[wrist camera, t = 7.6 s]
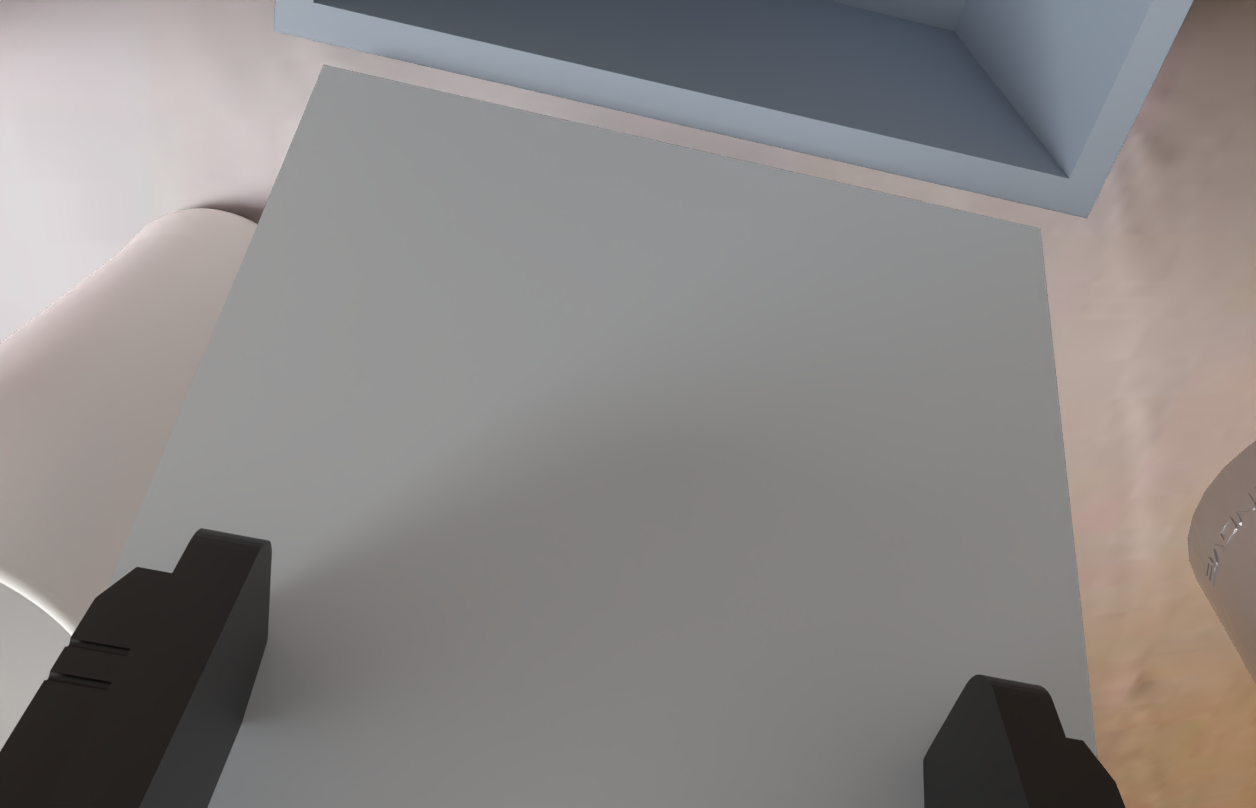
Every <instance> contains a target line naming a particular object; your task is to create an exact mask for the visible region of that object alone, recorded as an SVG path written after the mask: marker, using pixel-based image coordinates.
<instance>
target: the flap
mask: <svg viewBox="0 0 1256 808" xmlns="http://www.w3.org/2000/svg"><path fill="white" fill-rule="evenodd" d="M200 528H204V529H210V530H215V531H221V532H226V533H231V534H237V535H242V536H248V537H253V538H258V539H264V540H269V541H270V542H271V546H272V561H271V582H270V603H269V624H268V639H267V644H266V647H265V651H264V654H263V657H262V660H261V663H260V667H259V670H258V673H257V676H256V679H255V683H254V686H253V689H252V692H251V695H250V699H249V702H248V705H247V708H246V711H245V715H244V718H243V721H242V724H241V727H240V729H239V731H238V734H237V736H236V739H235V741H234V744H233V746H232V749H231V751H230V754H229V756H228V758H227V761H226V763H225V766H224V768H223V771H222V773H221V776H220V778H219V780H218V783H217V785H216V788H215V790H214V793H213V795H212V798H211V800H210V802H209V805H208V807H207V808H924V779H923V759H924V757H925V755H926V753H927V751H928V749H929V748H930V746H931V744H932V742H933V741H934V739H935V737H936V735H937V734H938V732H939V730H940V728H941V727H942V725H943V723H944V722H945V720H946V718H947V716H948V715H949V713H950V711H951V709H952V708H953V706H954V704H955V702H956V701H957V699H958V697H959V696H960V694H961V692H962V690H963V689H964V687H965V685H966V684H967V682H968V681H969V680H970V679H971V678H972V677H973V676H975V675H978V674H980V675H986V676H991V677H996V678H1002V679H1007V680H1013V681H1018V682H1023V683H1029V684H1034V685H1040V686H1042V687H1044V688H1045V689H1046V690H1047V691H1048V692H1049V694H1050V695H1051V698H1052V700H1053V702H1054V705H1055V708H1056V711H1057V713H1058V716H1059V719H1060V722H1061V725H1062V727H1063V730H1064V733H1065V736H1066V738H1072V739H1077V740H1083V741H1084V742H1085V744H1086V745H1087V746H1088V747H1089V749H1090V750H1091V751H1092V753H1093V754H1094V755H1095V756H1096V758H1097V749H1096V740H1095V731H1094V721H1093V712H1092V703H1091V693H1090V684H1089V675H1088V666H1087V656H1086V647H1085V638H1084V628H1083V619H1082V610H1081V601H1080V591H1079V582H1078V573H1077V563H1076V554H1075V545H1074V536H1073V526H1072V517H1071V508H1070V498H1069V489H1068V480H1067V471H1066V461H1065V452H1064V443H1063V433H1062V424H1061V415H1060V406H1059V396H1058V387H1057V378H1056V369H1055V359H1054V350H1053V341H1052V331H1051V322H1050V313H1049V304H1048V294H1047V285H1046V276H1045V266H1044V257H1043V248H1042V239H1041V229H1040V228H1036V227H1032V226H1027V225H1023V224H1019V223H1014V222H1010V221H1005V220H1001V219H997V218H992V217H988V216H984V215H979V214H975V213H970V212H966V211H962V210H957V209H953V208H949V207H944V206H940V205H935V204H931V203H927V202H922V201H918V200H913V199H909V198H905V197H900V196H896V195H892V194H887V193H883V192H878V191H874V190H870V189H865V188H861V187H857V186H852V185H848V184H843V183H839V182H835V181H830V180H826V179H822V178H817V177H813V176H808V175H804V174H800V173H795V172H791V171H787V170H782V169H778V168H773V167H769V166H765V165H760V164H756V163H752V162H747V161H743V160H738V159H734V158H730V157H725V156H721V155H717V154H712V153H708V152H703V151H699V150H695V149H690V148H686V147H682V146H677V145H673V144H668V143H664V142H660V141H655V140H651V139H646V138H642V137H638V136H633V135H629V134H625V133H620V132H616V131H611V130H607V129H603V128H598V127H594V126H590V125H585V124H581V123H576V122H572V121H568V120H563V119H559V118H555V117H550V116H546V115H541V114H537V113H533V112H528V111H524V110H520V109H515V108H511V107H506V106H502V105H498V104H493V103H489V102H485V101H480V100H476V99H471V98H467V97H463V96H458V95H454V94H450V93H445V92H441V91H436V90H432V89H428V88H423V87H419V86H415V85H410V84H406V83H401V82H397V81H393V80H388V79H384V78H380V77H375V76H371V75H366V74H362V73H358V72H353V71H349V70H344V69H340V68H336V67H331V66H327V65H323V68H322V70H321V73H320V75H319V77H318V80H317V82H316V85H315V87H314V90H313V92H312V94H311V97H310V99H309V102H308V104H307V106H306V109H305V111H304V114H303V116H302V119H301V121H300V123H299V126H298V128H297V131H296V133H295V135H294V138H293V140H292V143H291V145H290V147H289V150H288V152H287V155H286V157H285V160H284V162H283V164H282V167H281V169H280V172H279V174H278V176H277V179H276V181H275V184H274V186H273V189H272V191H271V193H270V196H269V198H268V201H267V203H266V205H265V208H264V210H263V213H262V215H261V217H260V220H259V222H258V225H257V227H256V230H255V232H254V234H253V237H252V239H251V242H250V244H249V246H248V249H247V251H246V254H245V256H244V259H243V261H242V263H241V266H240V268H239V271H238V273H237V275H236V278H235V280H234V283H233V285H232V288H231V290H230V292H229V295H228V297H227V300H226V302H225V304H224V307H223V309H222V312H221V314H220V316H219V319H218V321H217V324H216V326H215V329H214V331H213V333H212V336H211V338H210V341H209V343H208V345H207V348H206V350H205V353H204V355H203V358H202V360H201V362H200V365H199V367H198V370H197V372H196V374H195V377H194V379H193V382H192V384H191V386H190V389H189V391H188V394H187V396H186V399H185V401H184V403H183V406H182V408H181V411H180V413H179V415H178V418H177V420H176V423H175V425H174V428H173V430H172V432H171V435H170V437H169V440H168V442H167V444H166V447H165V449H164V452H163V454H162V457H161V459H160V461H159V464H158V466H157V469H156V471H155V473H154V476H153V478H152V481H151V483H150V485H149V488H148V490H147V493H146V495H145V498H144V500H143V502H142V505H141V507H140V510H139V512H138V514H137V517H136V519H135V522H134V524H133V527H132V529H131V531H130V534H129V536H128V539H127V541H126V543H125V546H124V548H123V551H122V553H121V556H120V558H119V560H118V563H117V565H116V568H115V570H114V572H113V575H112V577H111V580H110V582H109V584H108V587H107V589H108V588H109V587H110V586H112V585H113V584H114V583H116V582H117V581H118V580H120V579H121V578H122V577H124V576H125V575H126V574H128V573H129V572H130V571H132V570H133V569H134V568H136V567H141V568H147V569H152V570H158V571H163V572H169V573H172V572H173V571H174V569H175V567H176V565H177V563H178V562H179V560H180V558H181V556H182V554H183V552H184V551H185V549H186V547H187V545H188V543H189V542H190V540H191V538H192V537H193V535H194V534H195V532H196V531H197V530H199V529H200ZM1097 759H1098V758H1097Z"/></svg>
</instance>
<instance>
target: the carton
mask: <svg viewBox="0 0 1256 808" xmlns="http://www.w3.org/2000/svg"><path fill="white" fill-rule="evenodd" d="M1192 2H1193V0H275V21H274V31H275V32H279V33H284V34H288V35H292V36H297V37H301V38H305V39H310V40H314V41H318V42H323V43H327V44H331V45H336V46H340V47H344V48H349V49H353V50H358V51H362V52H366V53H371V54H375V55H379V56H384V57H388V58H392V59H397V60H401V61H405V62H410V63H414V64H418V65H423V66H427V67H431V68H436V69H440V70H444V71H449V72H453V73H457V74H462V75H466V76H470V77H475V78H479V79H483V80H488V81H492V82H497V83H501V84H505V85H510V86H514V87H518V88H523V89H527V90H531V91H536V92H540V93H544V94H549V95H553V96H557V97H562V98H566V99H570V100H575V101H579V102H583V103H588V104H592V105H596V106H601V107H605V108H609V109H614V110H618V111H623V112H627V113H631V114H636V115H640V116H644V117H649V118H653V119H657V120H662V121H666V122H670V123H675V124H679V125H683V126H688V127H692V128H696V129H701V130H705V131H709V132H714V133H718V134H722V135H727V136H731V137H735V138H740V139H744V140H748V141H753V142H757V143H762V144H766V145H770V146H775V147H779V148H783V149H788V150H792V151H796V152H801V153H805V154H809V155H814V156H818V157H822V158H827V159H831V160H835V161H840V162H844V163H848V164H853V165H857V166H861V167H866V168H870V169H874V170H879V171H883V172H888V173H892V174H896V175H901V176H905V177H909V178H914V179H918V180H922V181H927V182H931V183H935V184H940V185H944V186H948V187H953V188H957V189H961V190H966V191H970V192H974V193H979V194H983V195H987V196H992V197H996V198H1000V199H1005V200H1009V201H1013V202H1018V203H1022V204H1027V205H1031V206H1035V207H1040V208H1044V209H1048V210H1053V211H1057V212H1061V213H1066V214H1070V215H1074V216H1079V217H1083V218H1087V217H1088V215H1089V213H1090V211H1091V209H1092V207H1093V205H1094V203H1095V201H1096V199H1097V197H1098V195H1099V193H1100V191H1101V189H1102V187H1103V184H1104V182H1105V180H1106V178H1107V176H1108V174H1109V172H1110V170H1111V168H1112V166H1113V164H1114V162H1115V160H1116V158H1117V156H1118V154H1119V152H1120V150H1121V148H1122V146H1123V144H1124V142H1125V139H1126V137H1127V135H1128V133H1129V131H1130V129H1131V127H1132V125H1133V123H1134V121H1135V119H1136V117H1137V115H1138V113H1139V111H1140V109H1141V107H1142V105H1143V103H1144V101H1145V99H1146V97H1147V94H1148V92H1149V90H1150V88H1151V86H1152V84H1153V82H1154V80H1155V78H1156V76H1157V74H1158V72H1159V70H1160V68H1161V66H1162V64H1163V62H1164V60H1165V58H1166V56H1167V54H1168V52H1169V50H1170V47H1171V45H1172V43H1173V41H1174V39H1175V37H1176V35H1177V33H1178V31H1179V29H1180V27H1181V25H1182V23H1183V21H1184V19H1185V17H1186V15H1187V13H1188V11H1189V9H1190V7H1191V5H1192Z"/></svg>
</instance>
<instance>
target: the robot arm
mask: <svg viewBox="0 0 1256 808" xmlns="http://www.w3.org/2000/svg"><path fill="white" fill-rule="evenodd" d="M1188 551H1189V561H1190V564H1191V566H1192V569H1193V572H1194V574H1195V577H1196V579H1197V581H1198V583H1199V585H1200V586H1201V588H1202V590H1203V592H1204V593H1205V595H1206V597H1207V599H1208V600H1209V602H1210V604H1211V606H1212V607H1213V609H1214V611H1215V613H1216V614H1217V616H1218V618H1219V619H1220V621H1221V623H1222V625H1223V626H1224V628H1225V630H1226V632H1227V633H1228V635H1229V637H1230V639H1231V640H1232V642H1233V644H1234V646H1235V647H1236V649H1237V651H1238V653H1239V654H1240V656H1241V658H1242V660H1243V662H1244V664H1245V666H1246V668H1247V669H1248V671H1249V673H1250V675H1251V676H1252V678H1253V680H1254V681H1255V683H1256V441H1255V442H1254V443H1252V444H1251V445H1249V446H1248V447H1247V448H1246V449H1244V450H1243V451H1242V452H1241V453H1240V454H1239V455H1238V456H1237V457H1235V458H1234V459H1233V460H1232V461H1231V462H1230V463H1229V464H1227V465H1226V466H1225V467H1224V468H1223V469H1222V471H1221V472H1220V473H1219V474H1218V476H1217V477H1216V478H1215V479H1214V481H1213V482H1212V483H1211V484H1210V486H1209V487H1208V488H1207V489H1206V491H1205V492H1204V494H1203V496H1202V498H1201V500H1200V502H1199V504H1198V506H1197V508H1196V510H1195V512H1194V514H1193V518H1192V522H1191V526H1190V531H1189V535H1188ZM271 561H272V546H271V542H270V541H269V540H264V539H258V538H253V537H248V536H242V535H237V534H231V533H226V532H221V531H215V530H210V529H204V528H200V529H199V530H197V531H196V532H195V534H194V535H193V537H192V538H191V540H190V542H189V543H188V545H187V547H186V549H185V551H184V552H183V554H182V556H181V558H180V560H179V562H178V563H177V565H176V567H175V569H174V571H173V572H172V573H169V572H163V571H158V570H152V569H147V568H141V567H136V568H134V569H133V570H132V571H130V572H129V573H128V574H126V575H125V576H124V577H122V578H121V579H120V580H118V581H117V582H116V583H114V584H113V585H112V586H110V587H109V588H108V589H106V590H105V591H104V592H102V593H101V594H100V595H98V596H97V597H96V598H95V599H94V601H93V602H92V604H91V605H90V607H89V609H88V610H87V612H86V613H85V615H84V617H83V618H82V620H81V622H80V623H79V625H78V626H77V628H76V630H75V631H74V633H73V634H72V636H71V638H70V643H69V645H68V647H67V646H65V647H64V649H63V651H62V652H61V654H60V655H59V657H58V659H57V660H56V662H55V664H54V665H53V667H52V668H51V670H50V674H49V677H48V679H47V680H44V681H43V683H42V685H41V686H40V688H39V689H38V691H37V693H36V694H35V696H34V697H33V699H32V701H31V702H30V704H29V705H28V707H27V709H26V710H25V712H24V714H23V715H22V717H21V718H20V720H19V722H18V723H17V725H16V726H15V728H14V730H13V731H12V733H11V735H10V736H9V738H8V739H7V741H6V743H5V744H4V746H3V747H2V749H1V751H0V808H207V807H208V805H209V802H210V800H211V798H212V795H213V793H214V790H215V788H216V785H217V783H218V780H219V778H220V776H221V773H222V771H223V768H224V766H225V763H226V761H227V758H228V756H229V754H230V751H231V749H232V746H233V744H234V741H235V739H236V736H237V734H238V731H239V729H240V727H241V724H242V721H243V718H244V715H245V711H246V708H247V705H248V702H249V699H250V695H251V692H252V689H253V686H254V683H255V679H256V676H257V673H258V670H259V667H260V663H261V660H262V657H263V654H264V651H265V647H266V644H267V639H268V624H269V603H270V582H271ZM923 779H924V808H1125V805H1124V803H1123V800H1122V798H1121V795H1120V793H1119V790H1118V788H1117V785H1116V782H1115V781H1114V780H1113V778H1112V777H1111V776H1110V775H1109V773H1108V772H1107V771H1106V769H1105V768H1104V767H1103V766H1102V764H1101V763H1100V762H1099V760H1098V759H1097V758H1096V756H1095V755H1094V754H1093V753H1092V751H1091V750H1090V749H1089V747H1088V746H1087V745H1086V744H1085V742H1084V741H1083V740H1077V739H1072V738H1066V736H1065V733H1064V730H1063V727H1062V725H1061V722H1060V719H1059V716H1058V713H1057V711H1056V708H1055V705H1054V702H1053V700H1052V698H1051V695H1050V694H1049V692H1048V691H1047V690H1046V689H1045V688H1044V687H1042V686H1040V685H1034V684H1029V683H1023V682H1018V681H1013V680H1007V679H1002V678H996V677H991V676H986V675H980V674H978V675H975V676H973V677H972V678H971V679H970V680H969V681H968V682H967V684H966V685H965V687H964V689H963V690H962V692H961V694H960V696H959V697H958V699H957V701H956V702H955V704H954V706H953V708H952V709H951V711H950V713H949V715H948V716H947V718H946V720H945V722H944V723H943V725H942V727H941V728H940V730H939V732H938V734H937V735H936V737H935V739H934V741H933V742H932V744H931V746H930V748H929V749H928V751H927V753H926V755H925V757H924V759H923Z"/></svg>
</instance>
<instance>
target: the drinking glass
mask: <svg viewBox="0 0 1256 808" xmlns="http://www.w3.org/2000/svg"><path fill="white" fill-rule="evenodd" d="M257 225H258V224H257V223H255V222H253V221H251V220H249V219H247V218H244V217H242V216H239V215H237V214H234V213H230V212H227V211H222V210H217V209H208V208H193V209H184V210H179V211H175V212H172V213H169V214H166V215H164V216H161V217H159V218H157V219H156V220H154V221H152V222H151V223H149V224H148V225H146V226H145V227H144V228H143V229H141V230H140V231H139V232H138V233H137V234H136V235H135V236H134V237H133V238H132V239H131V240H130V241H129V242H128V243H127V244H126V245H125V246H124V247H123V248H122V249H121V250H120V251H119V252H118V253H117V254H116V255H115V256H113V257H112V258H111V259H110V260H108V261H107V262H106V263H104V264H103V265H102V266H101V267H99V268H98V269H97V270H95V271H94V272H93V273H92V274H90V275H89V276H88V277H86V278H85V279H84V280H83V281H81V282H80V283H79V284H77V285H76V286H75V287H73V288H72V289H71V290H70V291H68V292H67V293H66V294H64V295H63V296H62V297H60V298H59V299H58V300H56V301H55V302H54V303H53V304H51V305H50V306H49V307H47V308H46V309H45V310H43V311H42V312H41V313H39V314H38V315H37V316H35V317H34V318H33V319H31V320H30V321H29V322H27V323H26V324H25V325H23V326H22V327H21V328H19V329H18V330H17V331H15V332H14V333H13V334H11V335H10V336H9V337H7V338H6V339H5V340H3V341H2V342H1V343H0V751H1V749H2V747H3V746H4V744H5V743H6V741H7V739H8V738H9V736H10V735H11V733H12V731H13V730H14V728H15V726H16V725H17V723H18V722H19V720H20V718H21V717H22V715H23V714H24V712H25V710H26V709H27V707H28V705H29V704H30V702H31V701H32V699H33V697H34V696H35V694H36V693H37V691H38V689H39V688H40V686H41V685H42V683H43V681H44V680H47V679H48V677H49V674H50V670H51V668H52V667H53V665H54V664H55V662H56V660H57V659H58V657H59V655H60V654H61V652H62V651H63V649H64V647H65V646H67V647H68V645H69V643H70V638H71V636H72V634H73V633H74V631H75V630H76V628H77V626H78V625H79V623H80V622H81V620H82V618H83V617H84V615H85V613H86V612H87V610H88V609H89V607H90V605H91V604H92V602H93V601H94V599H95V598H96V597H97V596H98V595H100V594H101V593H102V592H104V591H105V590H106V589H107V587H108V584H109V582H110V580H111V577H112V575H113V572H114V570H115V568H116V565H117V563H118V560H119V558H120V556H121V553H122V551H123V548H124V546H125V543H126V541H127V539H128V536H129V534H130V531H131V529H132V527H133V524H134V522H135V519H136V517H137V514H138V512H139V510H140V507H141V505H142V502H143V500H144V498H145V495H146V493H147V490H148V488H149V485H150V483H151V481H152V478H153V476H154V473H155V471H156V469H157V466H158V464H159V461H160V459H161V457H162V454H163V452H164V449H165V447H166V444H167V442H168V440H169V437H170V435H171V432H172V430H173V428H174V425H175V423H176V420H177V418H178V415H179V413H180V411H181V408H182V406H183V403H184V401H185V399H186V396H187V394H188V391H189V389H190V386H191V384H192V382H193V379H194V377H195V374H196V372H197V370H198V367H199V365H200V362H201V360H202V358H203V355H204V353H205V350H206V348H207V345H208V343H209V341H210V338H211V336H212V333H213V331H214V329H215V326H216V324H217V321H218V319H219V316H220V314H221V312H222V309H223V307H224V304H225V302H226V300H227V297H228V295H229V292H230V290H231V288H232V285H233V283H234V280H235V278H236V275H237V273H238V271H239V268H240V266H241V263H242V261H243V259H244V256H245V254H246V251H247V249H248V246H249V244H250V242H251V239H252V237H253V234H254V232H255V230H256V227H257Z"/></svg>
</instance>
